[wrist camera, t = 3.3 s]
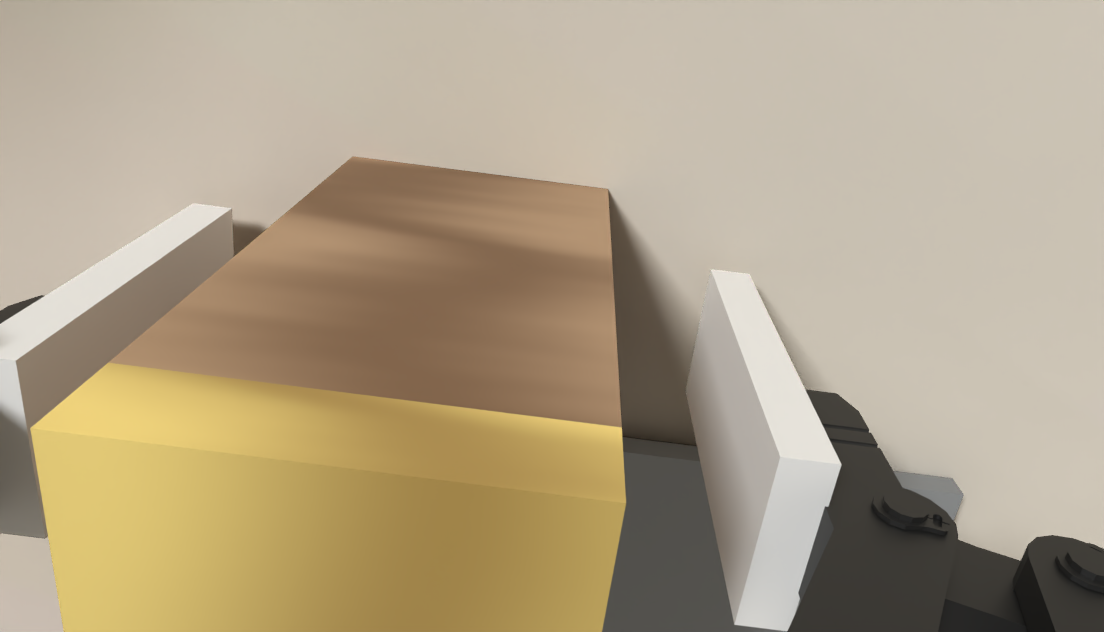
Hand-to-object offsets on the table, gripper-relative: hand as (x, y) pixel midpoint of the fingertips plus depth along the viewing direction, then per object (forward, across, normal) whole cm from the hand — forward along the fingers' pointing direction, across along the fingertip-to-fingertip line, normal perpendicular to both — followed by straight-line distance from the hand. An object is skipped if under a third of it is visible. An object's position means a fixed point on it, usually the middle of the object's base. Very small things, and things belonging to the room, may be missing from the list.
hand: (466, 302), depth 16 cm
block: (+1, 0, 0) cm, 1 cm away
